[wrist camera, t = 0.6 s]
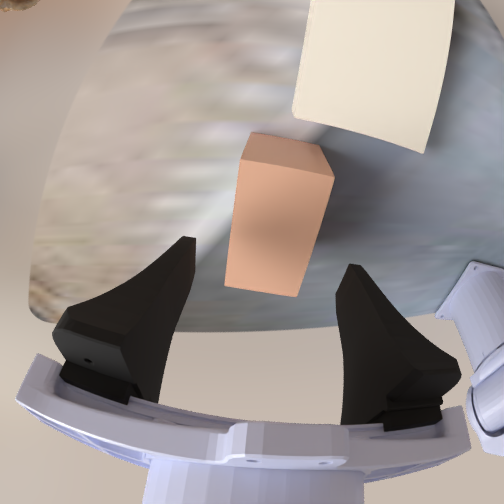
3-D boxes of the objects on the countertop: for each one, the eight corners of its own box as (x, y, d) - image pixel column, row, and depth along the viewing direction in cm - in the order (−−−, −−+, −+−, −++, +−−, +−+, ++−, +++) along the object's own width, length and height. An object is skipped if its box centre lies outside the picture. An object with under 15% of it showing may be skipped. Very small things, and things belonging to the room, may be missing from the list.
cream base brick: (430, -5, 9) (455, -13, 7) (401, 138, 17) (423, 153, 14) (318, -45, 9) (325, -65, 6) (291, 109, 16) (294, 117, 14)
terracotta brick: (318, 144, 17) (335, 177, 13) (293, 242, 22) (296, 297, 17) (251, 132, 17) (240, 159, 13) (236, 232, 22) (224, 285, 17)
